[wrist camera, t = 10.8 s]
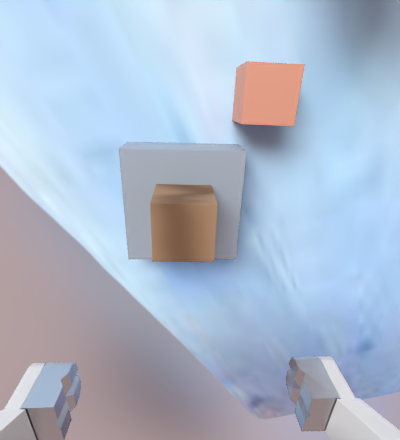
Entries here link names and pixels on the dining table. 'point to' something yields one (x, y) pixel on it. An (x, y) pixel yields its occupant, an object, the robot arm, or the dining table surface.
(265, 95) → the terracotta cube
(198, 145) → the plinth
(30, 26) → the dining table surface
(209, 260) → the walnut cube
